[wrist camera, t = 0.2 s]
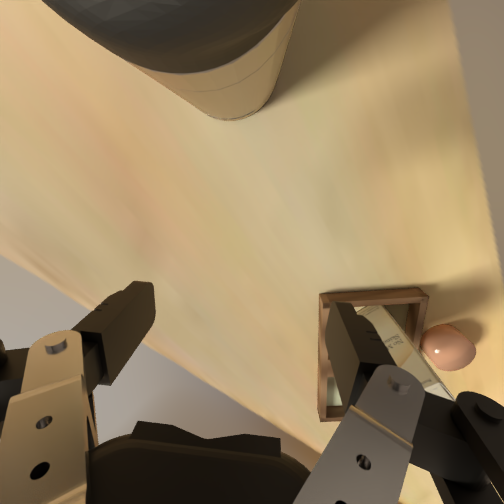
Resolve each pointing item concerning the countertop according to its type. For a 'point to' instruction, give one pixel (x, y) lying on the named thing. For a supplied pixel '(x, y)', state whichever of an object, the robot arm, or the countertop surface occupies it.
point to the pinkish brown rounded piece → (447, 347)
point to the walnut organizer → (415, 297)
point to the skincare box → (404, 350)
